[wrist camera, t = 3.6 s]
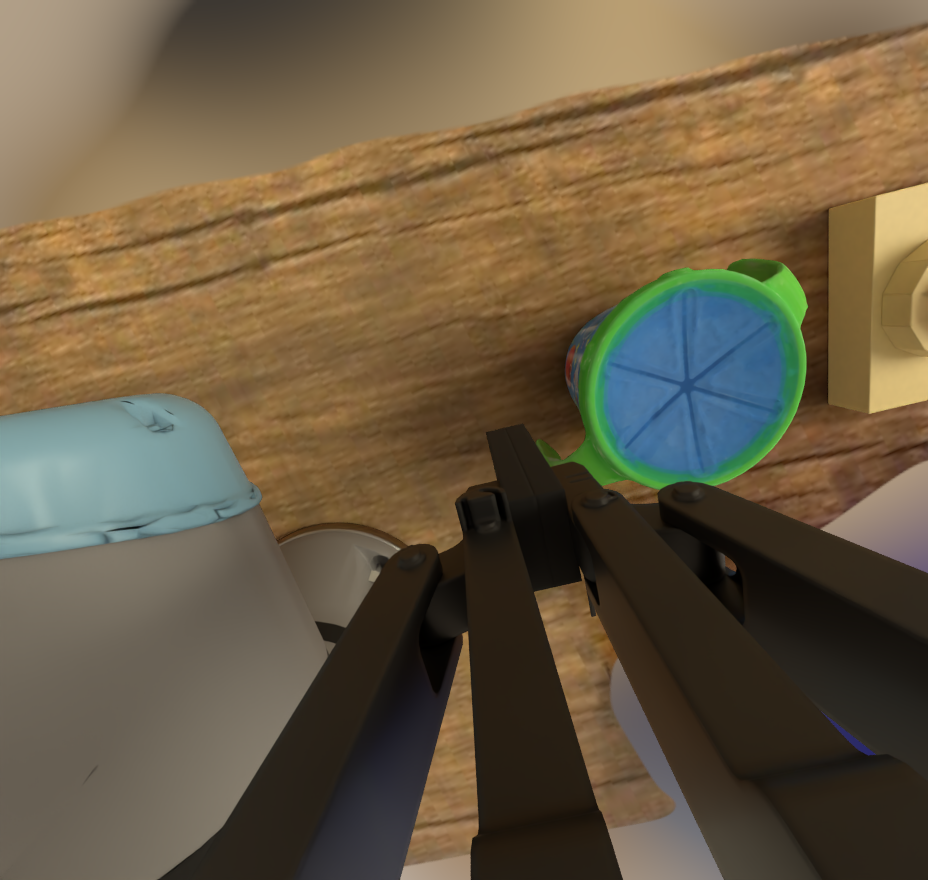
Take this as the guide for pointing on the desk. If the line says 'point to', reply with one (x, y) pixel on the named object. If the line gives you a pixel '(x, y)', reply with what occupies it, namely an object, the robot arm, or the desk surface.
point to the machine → (878, 301)
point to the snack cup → (689, 376)
